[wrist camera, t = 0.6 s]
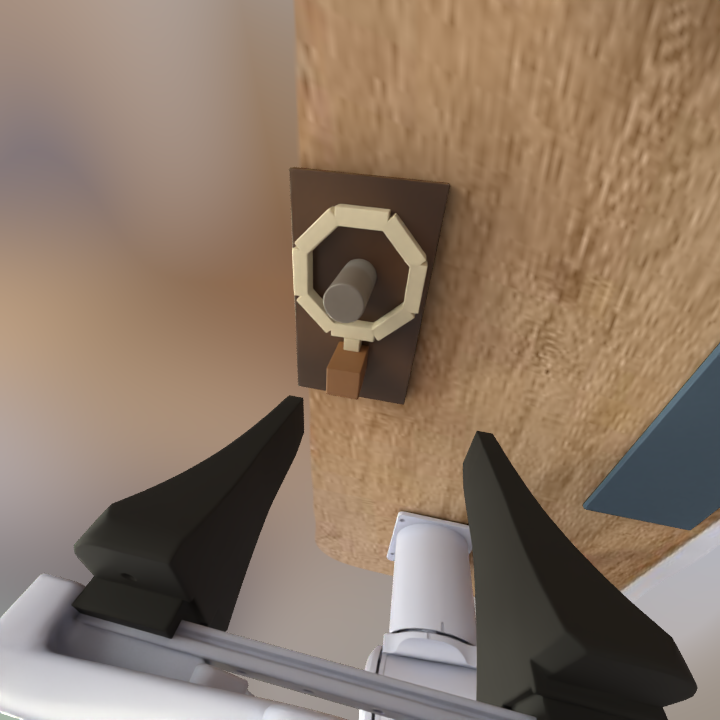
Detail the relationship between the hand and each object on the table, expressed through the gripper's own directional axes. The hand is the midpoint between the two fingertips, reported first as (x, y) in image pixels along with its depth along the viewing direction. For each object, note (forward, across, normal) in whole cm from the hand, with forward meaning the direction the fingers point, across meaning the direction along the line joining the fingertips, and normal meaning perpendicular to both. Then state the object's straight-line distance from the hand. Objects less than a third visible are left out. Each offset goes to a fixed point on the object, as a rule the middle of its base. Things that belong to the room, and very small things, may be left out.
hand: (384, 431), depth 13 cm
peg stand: (+9, +3, -2) cm, 9 cm away
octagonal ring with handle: (+8, +3, -1) cm, 9 cm away
